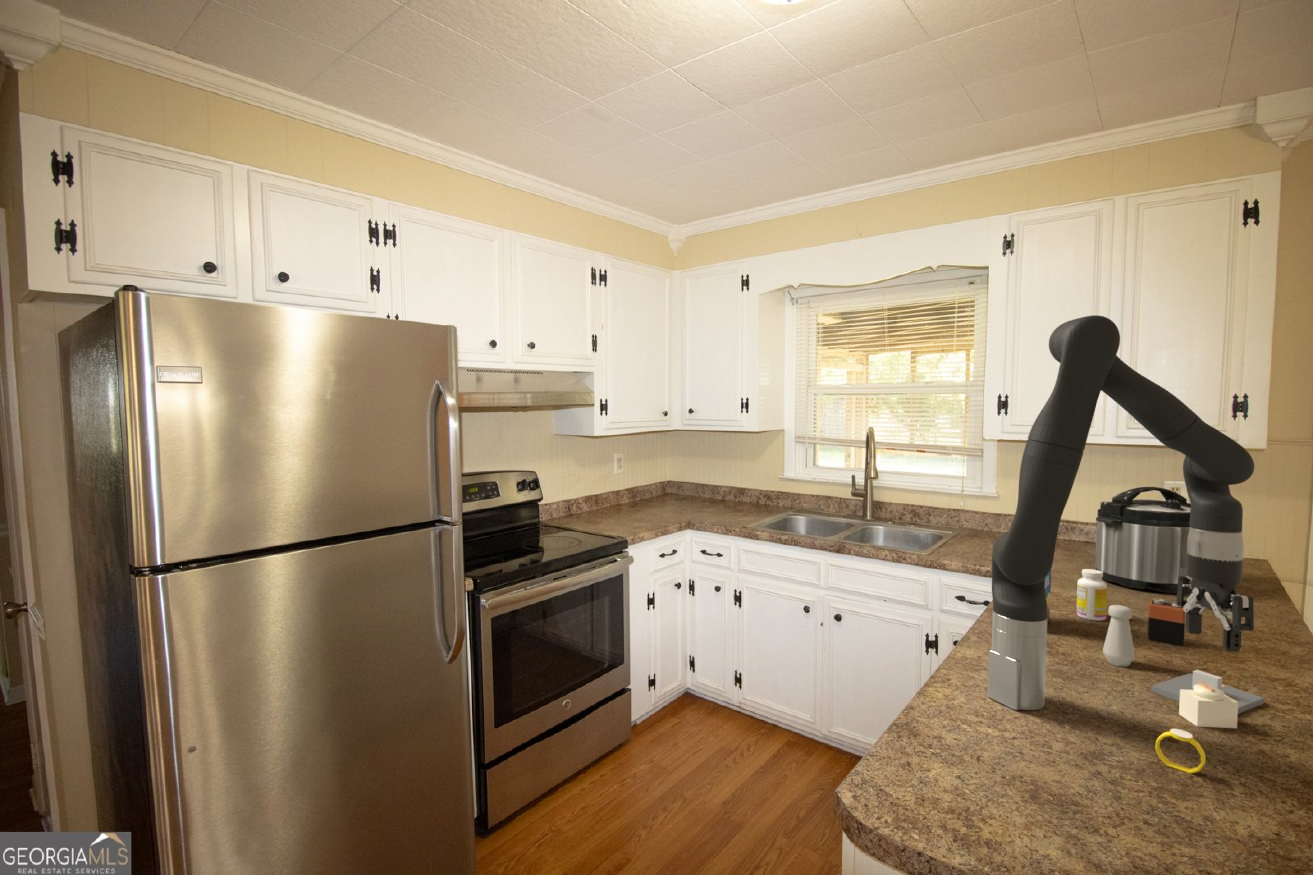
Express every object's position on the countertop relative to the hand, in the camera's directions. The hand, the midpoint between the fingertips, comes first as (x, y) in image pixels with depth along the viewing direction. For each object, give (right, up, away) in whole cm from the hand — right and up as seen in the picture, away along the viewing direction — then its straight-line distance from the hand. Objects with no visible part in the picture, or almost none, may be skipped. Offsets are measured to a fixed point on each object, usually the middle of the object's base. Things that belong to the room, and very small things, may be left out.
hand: (1211, 641), depth 111 cm
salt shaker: (+3, -14, +26) cm, 30 cm away
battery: (+24, -13, +39) cm, 48 cm away
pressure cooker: (+58, -11, +88) cm, 106 cm away
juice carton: (-2, -13, +51) cm, 53 cm away
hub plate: (+8, -14, +10) cm, 19 cm away
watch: (-18, -16, -14) cm, 27 cm away
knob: (0, -15, +1) cm, 15 cm away
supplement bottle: (+18, -12, +56) cm, 60 cm away
